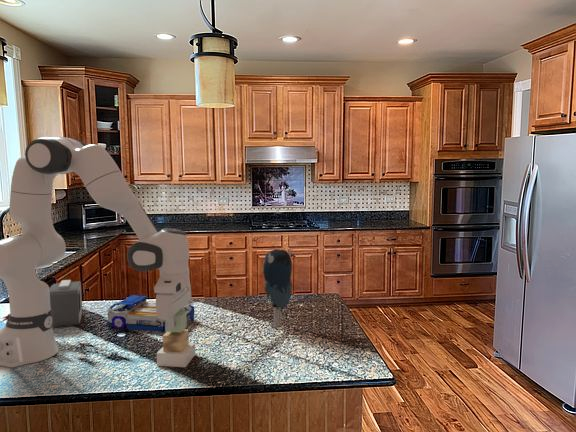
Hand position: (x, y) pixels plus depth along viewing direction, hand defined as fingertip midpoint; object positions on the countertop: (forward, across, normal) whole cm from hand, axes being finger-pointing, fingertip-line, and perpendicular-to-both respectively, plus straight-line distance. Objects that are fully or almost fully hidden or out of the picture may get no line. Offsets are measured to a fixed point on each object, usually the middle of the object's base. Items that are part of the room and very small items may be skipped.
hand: (175, 324), depth 134 cm
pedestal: (+12, 0, 0) cm, 12 cm away
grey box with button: (+12, -28, -56) cm, 64 cm away
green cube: (+2, 0, 0) cm, 2 cm away
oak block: (+8, 0, 0) cm, 8 cm away
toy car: (+12, -30, -21) cm, 39 cm away
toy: (+12, -33, +28) cm, 45 cm away
